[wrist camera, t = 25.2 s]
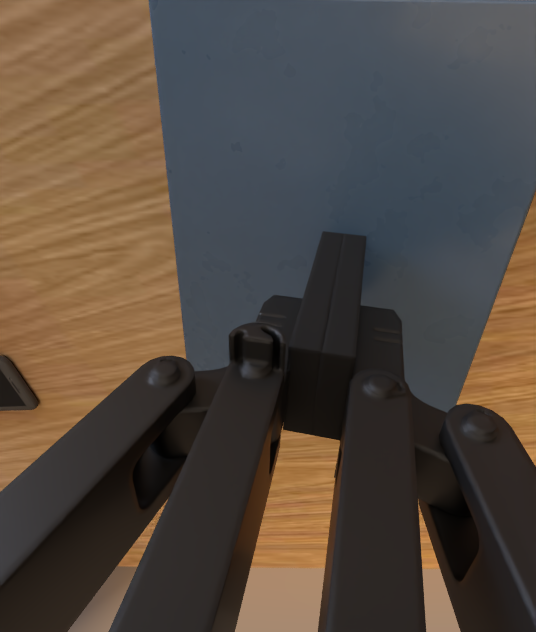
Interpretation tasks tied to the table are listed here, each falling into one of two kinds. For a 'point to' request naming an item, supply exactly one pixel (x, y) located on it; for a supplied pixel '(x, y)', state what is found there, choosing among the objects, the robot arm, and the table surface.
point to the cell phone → (14, 389)
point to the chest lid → (348, 161)
